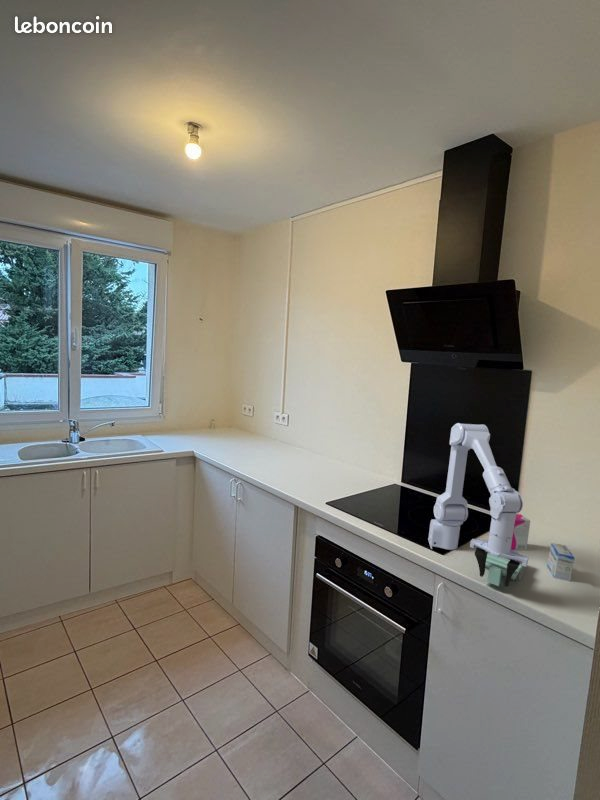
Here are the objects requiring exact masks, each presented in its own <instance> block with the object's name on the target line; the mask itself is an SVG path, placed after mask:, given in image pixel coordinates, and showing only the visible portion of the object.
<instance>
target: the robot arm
mask: <svg viewBox="0 0 600 800" xmlns="http://www.w3.org/2000/svg"><path fill="white" fill-rule="evenodd" d="M449 435H450V437H449V445H450V446H451V447H450V453H449V454H450V455H449V462H448V463H449V464H448V470H447V471H448V472H447V478H446V487H445V491H444V492H443V493H442V494H440V495H437V497H436V501H435V504H434V506H433V515H434V519H432V518H431V520H430V523H429V530H428V531H429V532H428V538H427V540H428V543H429V547H430V549H431V550H433V547H435V548H440V549H444V550H449V551H454V550H457V549H458V545H459V539H460V531H461V525H463V524H464V522H465V521H466V520H467V519H468V517H469V510H468V501H467V499H465V497H464V496H463V491H464V489H463V488H464V483H465V482H464V481H465V476H466V475H465V474H466V466H467V458H468V453H469V452H468V451H470V450H471V449H472V450H473V451H474V453H475V454H476V457H477V458H478V460H479V462H480V464H481V466H482V467H483V470H484V471H483V472H482V477H483V480H484V482H485V485H486V488H487V489H488V492H489V493H490V497H488V498H489V499H488V503H489V507H490V511H489V512H490V516H491V521H490V527H489V531H488V532H489V534H488V541H484V540H478V539H475V538H472V539H471V540H470V542H469V543H470V545H469V548H471V549H475V550H474V556H475V558H476V562H477V564H478V570H479V577H481V578H482V577H484V576H485V573H486V569H485V565H486V559H487V555H488V553H491V555H493V556H496V557H499V556H500V557H503V558H505V559H508V560H510V561H509V562H508V564H507V574H506V577H505V580H504V586H505V587H508V586H509V584H510V581H511V580H512V579H511V577H512V575H513V573H514V572H515V571H516V569H517V568H518V567H519V565H520V564H522V566H525V567H526V566H527V567H528V565H529V560H530V559H529V556H526V555H524V556H523V554H520V553H519V552H516V550H511V543H512V537H513V531H514V524H515V518H516V514H519V513H520V512H521V511H522V510H523V506H524V504H523V503H524V502H523V498H522V495H521V493H519V491H517V490H516V489H515V488H513V487H512V486H511V484H510V482H509V480H508V477H507V475H506V473H505V471H504V469H503V468H502V467H500V466H498V464H497V463H496V461H495V457H494V455H493V452H492V449H491V446H490V443H489V442H490V439H491V433H490V431H489V428H488V426H487V425H486V424H472V423H460V422H457V423H455V424H453V426H452V427H451V429H450V434H449ZM525 556H526V557H525ZM527 567H526V568H527Z"/></svg>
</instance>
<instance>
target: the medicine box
mask: <svg viewBox="0 0 600 800" xmlns="http://www.w3.org/2000/svg"><path fill="white" fill-rule="evenodd" d="M574 562H575V556H574V555H573V554H572V552H571V551H570V549H569V548H568V547H567V545H565V544H564V545H563V544H560V543H555V542H554V543H553V542H551V543H550V548H549V553H548V559H547V564H546V567H547V569H548V570H549V572H550V574H551V575H552V577H553V578H554V579H558V580H561V581H567V582H571V580H572V575H573V574H572V573H573V569H574Z"/></svg>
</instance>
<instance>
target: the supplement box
mask: <svg viewBox="0 0 600 800" xmlns="http://www.w3.org/2000/svg"><path fill="white" fill-rule="evenodd" d="M530 526H531V519H528V517H526V516H524V515H523V514H521V513H520V514H519V513H516V518H515V524H514V531H513V537H512V543H511V550H513V551H527V548H528V541H529V535H530V534H529V533H530Z"/></svg>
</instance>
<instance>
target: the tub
mask: <svg viewBox="0 0 600 800" xmlns="http://www.w3.org/2000/svg"><path fill="white" fill-rule="evenodd" d="M522 555H523V554H522ZM523 556H525V557H527V556H526V555H523ZM527 567H528V565H527V566H526V567H525V566H522V568H521V570H520V571H519V573H518V575H517V576H516V578H515V579H512V578H511V579H510V580H512V581H513V580H514V581H515V582H520V580H521V578H522V577H523V574H524V573H525V571H526V570H527ZM485 571H489V570H488V569H485ZM502 576H503V577H504V578H506V576H504V575H502ZM502 576H501V577H502Z"/></svg>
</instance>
